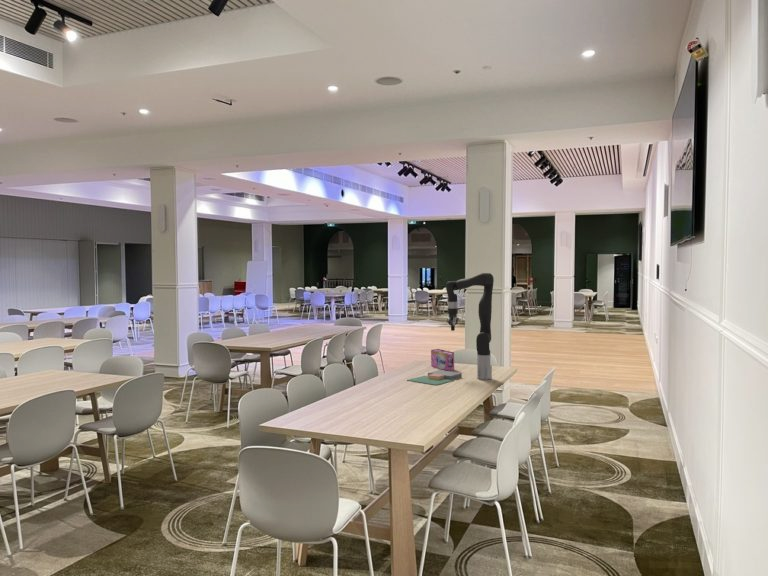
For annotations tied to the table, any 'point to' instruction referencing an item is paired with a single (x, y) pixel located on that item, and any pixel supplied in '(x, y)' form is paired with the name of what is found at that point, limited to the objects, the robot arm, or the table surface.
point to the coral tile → (436, 376)
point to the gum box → (442, 359)
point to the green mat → (429, 380)
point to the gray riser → (447, 374)
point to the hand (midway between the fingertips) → (452, 330)
